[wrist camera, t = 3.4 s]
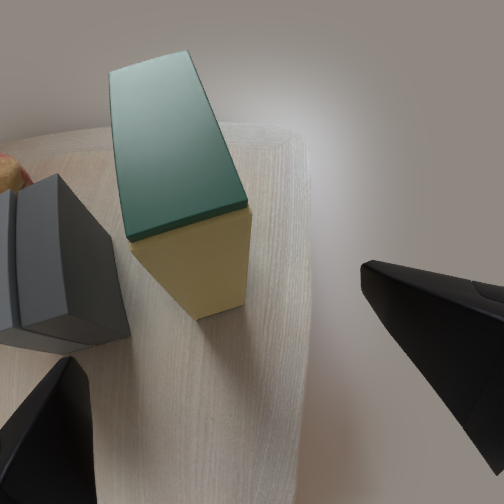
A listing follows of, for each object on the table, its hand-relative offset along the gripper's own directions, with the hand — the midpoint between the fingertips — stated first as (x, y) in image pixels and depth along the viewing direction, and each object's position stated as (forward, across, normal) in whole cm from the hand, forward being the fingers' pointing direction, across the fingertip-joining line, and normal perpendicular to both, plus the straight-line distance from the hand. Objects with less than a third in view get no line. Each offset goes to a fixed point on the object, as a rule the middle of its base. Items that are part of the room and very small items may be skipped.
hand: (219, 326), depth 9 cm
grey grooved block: (+14, +10, +4) cm, 17 cm away
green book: (+14, 0, +4) cm, 15 cm away
